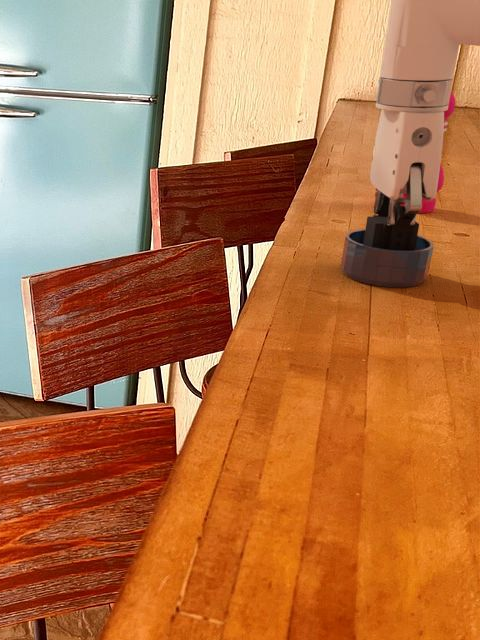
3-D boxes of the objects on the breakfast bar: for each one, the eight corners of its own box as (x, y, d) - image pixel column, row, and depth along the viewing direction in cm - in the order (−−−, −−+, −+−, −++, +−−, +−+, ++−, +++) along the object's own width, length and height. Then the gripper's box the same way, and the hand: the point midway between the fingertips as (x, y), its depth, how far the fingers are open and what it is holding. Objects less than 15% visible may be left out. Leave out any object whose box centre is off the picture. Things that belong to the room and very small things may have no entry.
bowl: (410, 265, 112) (417, 230, 110) (438, 290, 103) (446, 253, 101) (331, 262, 113) (336, 227, 111) (351, 286, 104) (358, 249, 102)
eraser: (404, 248, 108) (410, 216, 107) (413, 256, 105) (419, 224, 103) (362, 248, 109) (367, 216, 107) (370, 256, 105) (375, 223, 104)
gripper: (477, 104, 92) (445, 274, 99) (422, 86, 107) (398, 234, 114) (402, 104, 92) (375, 273, 100) (358, 86, 107) (338, 234, 115)
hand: (387, 251), depth 107 cm, fingers closed on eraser, 3 cm apart
